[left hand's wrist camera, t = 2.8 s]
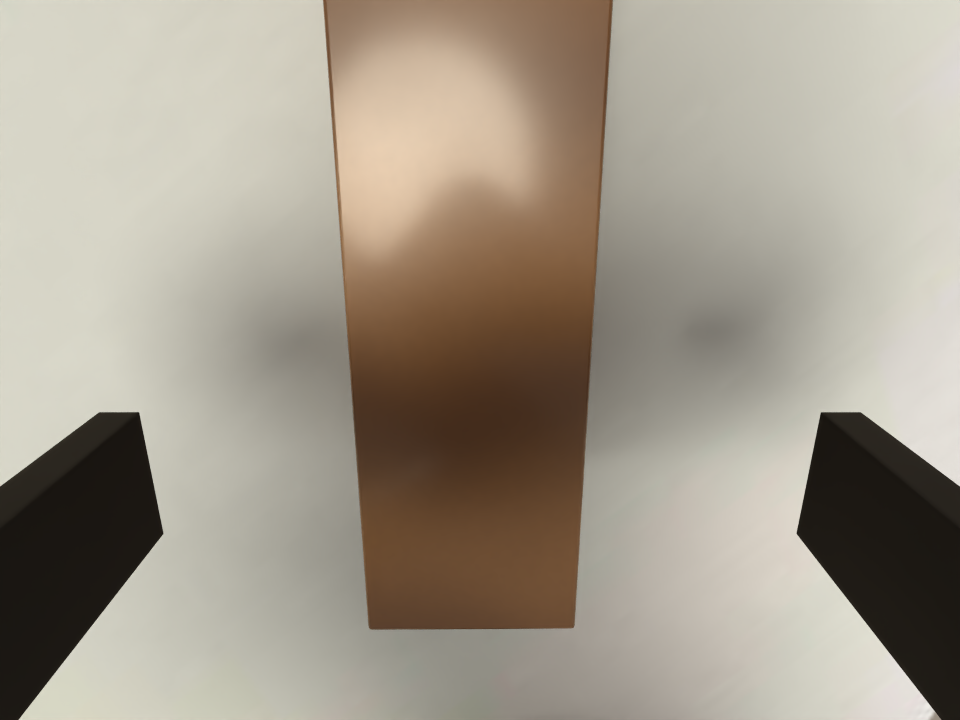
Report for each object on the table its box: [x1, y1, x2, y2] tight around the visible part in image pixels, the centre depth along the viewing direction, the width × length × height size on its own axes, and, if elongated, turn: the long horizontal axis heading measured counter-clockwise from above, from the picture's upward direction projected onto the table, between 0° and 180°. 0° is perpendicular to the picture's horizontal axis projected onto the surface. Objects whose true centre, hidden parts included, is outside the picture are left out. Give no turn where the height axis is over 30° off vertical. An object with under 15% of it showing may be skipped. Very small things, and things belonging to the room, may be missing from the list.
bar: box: [323, 0, 613, 630], centre depth 15 cm, size 23×5×8 cm, turn 0°
